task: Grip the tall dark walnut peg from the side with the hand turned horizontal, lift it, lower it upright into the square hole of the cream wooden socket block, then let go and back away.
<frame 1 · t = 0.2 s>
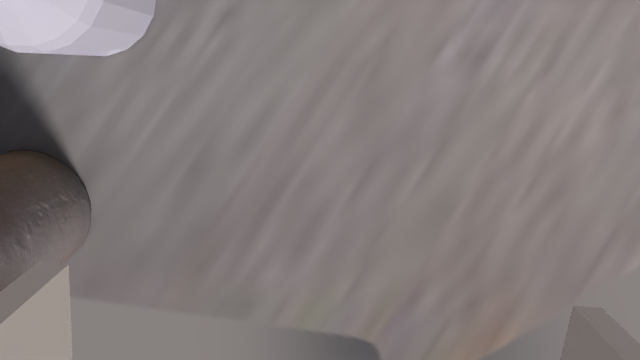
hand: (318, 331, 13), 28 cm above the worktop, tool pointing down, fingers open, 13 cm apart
pillar candle: (35, 209, 41), on the worktop
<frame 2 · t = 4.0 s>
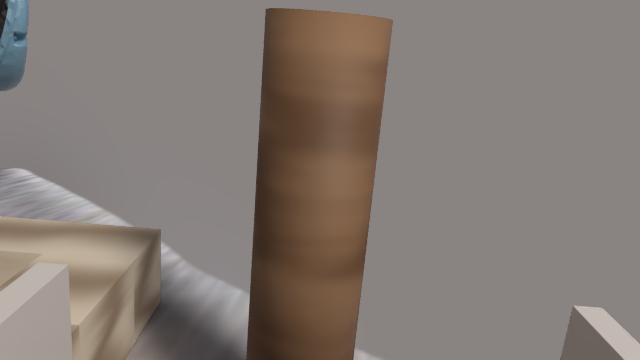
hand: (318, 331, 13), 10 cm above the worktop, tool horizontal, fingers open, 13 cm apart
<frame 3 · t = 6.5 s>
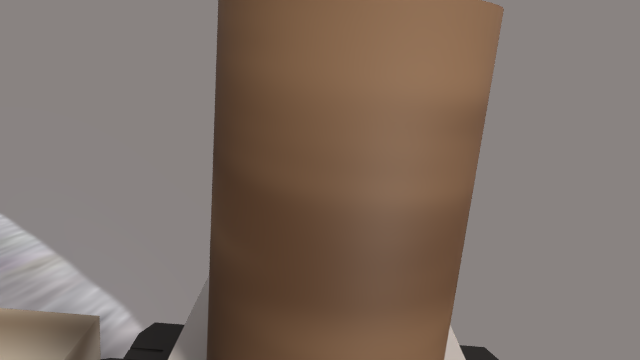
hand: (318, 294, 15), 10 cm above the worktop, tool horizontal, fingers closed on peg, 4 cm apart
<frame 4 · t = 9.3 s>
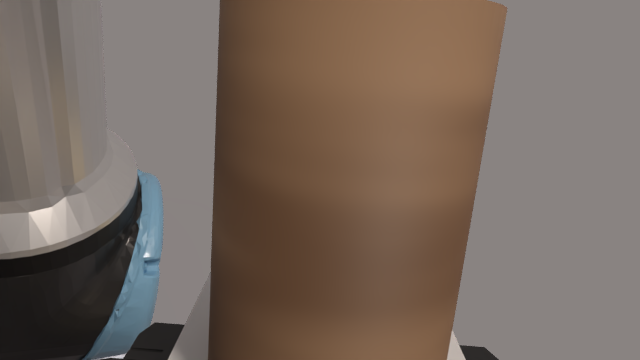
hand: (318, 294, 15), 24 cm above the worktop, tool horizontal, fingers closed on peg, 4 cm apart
when the fingers open (12 cm above the worktop, at t = 11.9 s): peg drops 2 cm, on the worktop.
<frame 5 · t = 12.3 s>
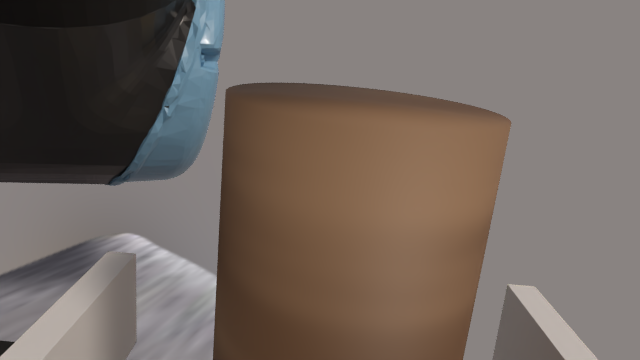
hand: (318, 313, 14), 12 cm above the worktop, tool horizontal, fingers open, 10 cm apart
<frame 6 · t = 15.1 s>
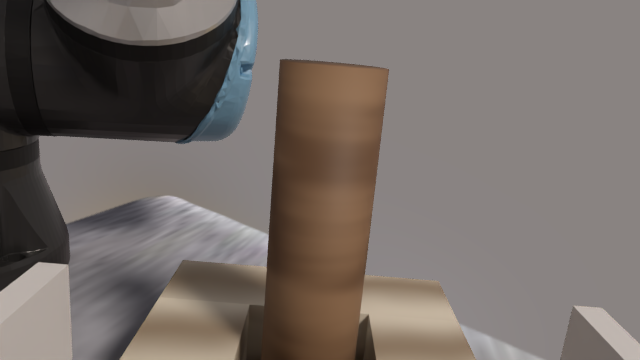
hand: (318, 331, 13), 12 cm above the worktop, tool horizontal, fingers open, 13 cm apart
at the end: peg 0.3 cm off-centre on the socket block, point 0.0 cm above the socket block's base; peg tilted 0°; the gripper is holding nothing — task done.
